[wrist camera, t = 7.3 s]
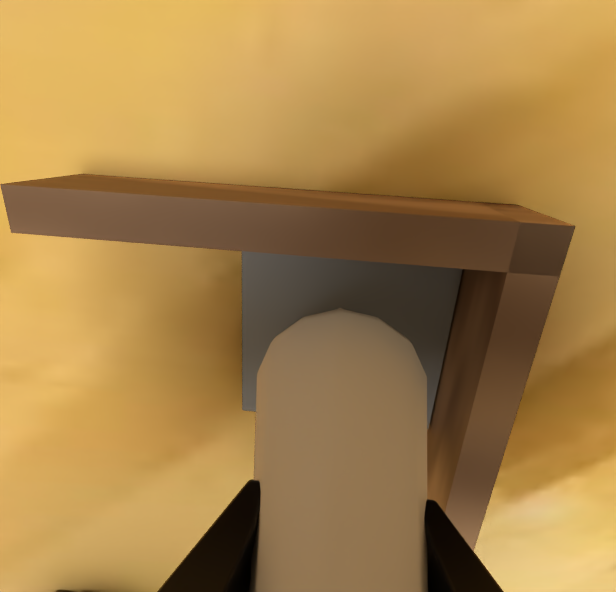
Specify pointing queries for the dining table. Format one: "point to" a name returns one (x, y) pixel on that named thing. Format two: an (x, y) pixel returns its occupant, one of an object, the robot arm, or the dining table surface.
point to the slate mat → (345, 305)
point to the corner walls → (363, 247)
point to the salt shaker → (341, 459)
